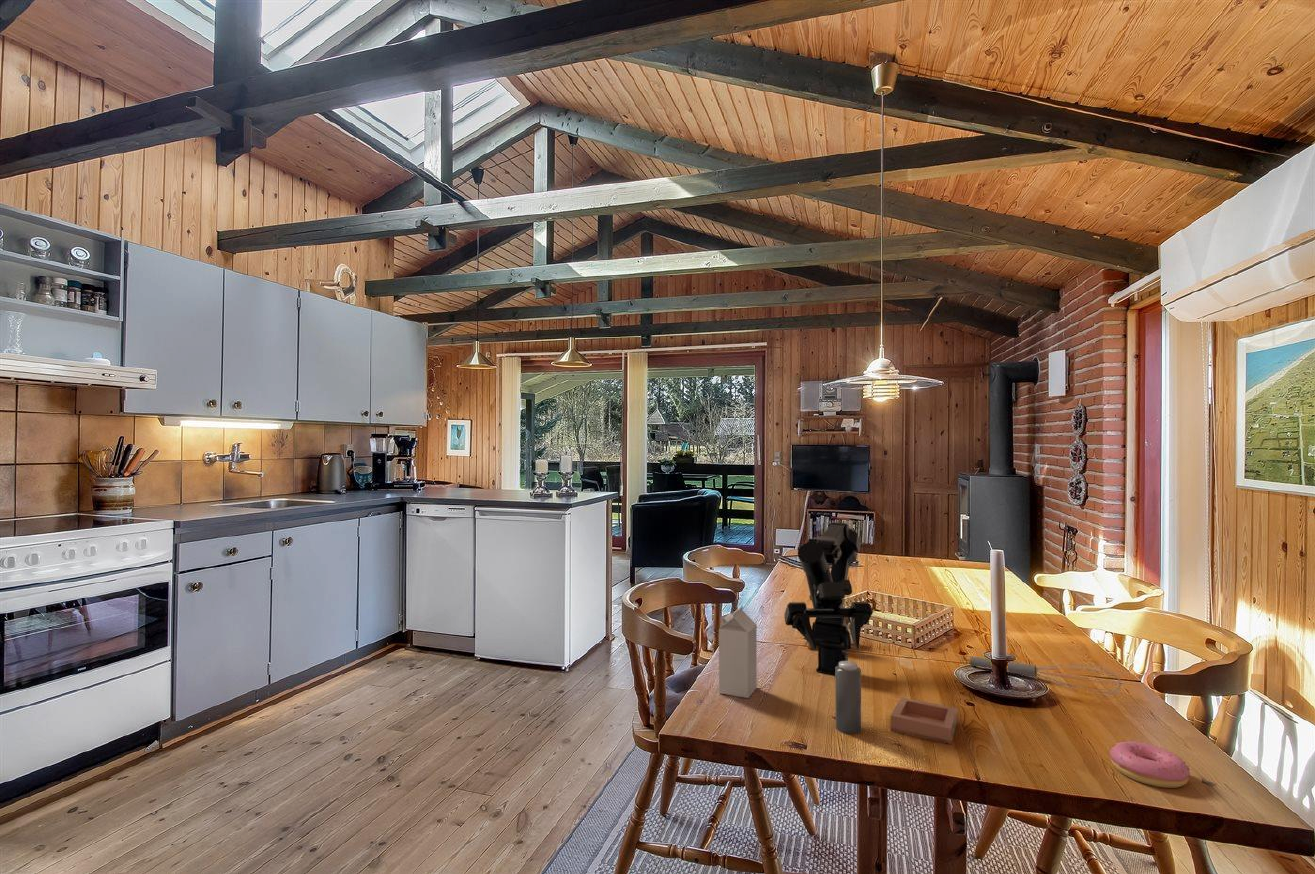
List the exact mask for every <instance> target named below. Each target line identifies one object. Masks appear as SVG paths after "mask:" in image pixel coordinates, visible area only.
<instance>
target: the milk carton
mask: <svg viewBox="0 0 1315 874" xmlns="http://www.w3.org/2000/svg"><path fill="white" fill-rule="evenodd" d="M723 619H724V620H725V623H724V624H723V625H721V626H720V627H719V629H718V693H719V694H723V695H728V696H734V697H737V698H738V697H740V698H745V699H749V698H750V697H751V695H752V694H753V693H754V692H755V690H756V689H757V685H758V684H757V683H758V682H757V680H758V677H757V676H758V675H757V674H758V673H757V669H758V668H757V667H758V666H757V663H758V662H757V661H758V659H757V656H758V653H757V652H758V651H757V650H758V649H757V648H758V647H757V636H758V635H757V634H758V633H757V630H758V629H757V624H756V622H754V620H753V619H752V618H751V617H750V616H749V615H748V614H747V613H746V612H745V611H744V606H743V605H741V606H740V607H739V608H737V609H736V610H735V611H734V612H730V613H729V614H727V615H726V616H725V617H723Z"/></svg>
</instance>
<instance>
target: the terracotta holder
mask: <svg viewBox="0 0 1315 874" xmlns="http://www.w3.org/2000/svg"><path fill="white" fill-rule="evenodd" d="M957 726H958V708H956V707H953V706H948V705H943V704H937V703H932V702H928V701H924V700H917V699H913V698H907V697H904V696H900V697H899V699H898V701H897V703H896V705H895V707H894V709H893V710H892V713H891V714H890V731H891V732H893V733H894V732H895V733H899V734H902V735H903V734H904V735H907V736H913V737H915V738H916V737H917V738H920V739H921V738H922V739H924V740H929V741H934V742H938V743H942V744H946V743H948V744H947V745H952V744H951V743H953V739H954V737H955V733H956V729H957Z"/></svg>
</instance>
